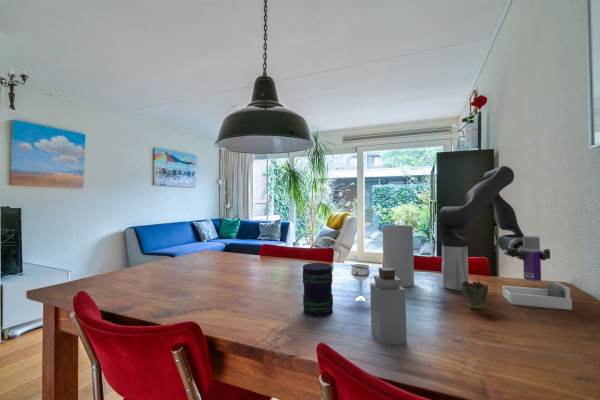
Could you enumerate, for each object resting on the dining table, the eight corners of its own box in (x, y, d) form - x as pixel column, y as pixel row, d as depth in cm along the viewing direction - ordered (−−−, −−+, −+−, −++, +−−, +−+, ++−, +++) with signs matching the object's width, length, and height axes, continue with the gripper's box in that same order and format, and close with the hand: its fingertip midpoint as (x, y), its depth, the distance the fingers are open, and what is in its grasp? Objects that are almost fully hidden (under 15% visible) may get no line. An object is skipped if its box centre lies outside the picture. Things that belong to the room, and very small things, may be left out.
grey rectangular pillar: (416, 281, 124) (415, 225, 125) (410, 289, 114) (409, 227, 114) (388, 278, 131) (386, 224, 131) (380, 285, 120) (378, 227, 121)
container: (544, 281, 95) (543, 237, 95) (528, 281, 96) (527, 237, 96) (535, 278, 99) (534, 235, 100) (520, 277, 100) (519, 235, 100)
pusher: (557, 304, 92) (557, 289, 92) (548, 297, 99) (547, 283, 99) (561, 305, 92) (561, 289, 92) (551, 298, 98) (551, 283, 98)
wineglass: (373, 298, 104) (373, 265, 104) (364, 303, 99) (363, 269, 99) (357, 294, 109) (357, 263, 109) (348, 299, 104) (347, 266, 104)
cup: (485, 305, 95) (484, 281, 95) (492, 313, 88) (491, 287, 88) (460, 303, 97) (459, 280, 97) (465, 310, 90) (464, 286, 90)
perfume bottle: (371, 332, 76) (369, 266, 77) (395, 331, 77) (393, 265, 77) (380, 345, 70) (378, 272, 70) (406, 343, 70) (404, 271, 71)
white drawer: (511, 304, 95) (510, 284, 96) (502, 295, 105) (502, 277, 105) (572, 309, 89) (571, 289, 90) (557, 299, 99) (556, 281, 99)
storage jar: (312, 320, 86) (311, 270, 86) (297, 309, 94) (297, 265, 94) (339, 313, 90) (338, 267, 90) (323, 304, 99) (322, 261, 99)
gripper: (499, 238, 114) (507, 244, 98) (544, 239, 107) (561, 246, 92) (499, 256, 114) (508, 266, 98) (545, 259, 107) (562, 269, 92)
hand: (533, 256), depth 95 cm, fingers closed on container, 4 cm apart
